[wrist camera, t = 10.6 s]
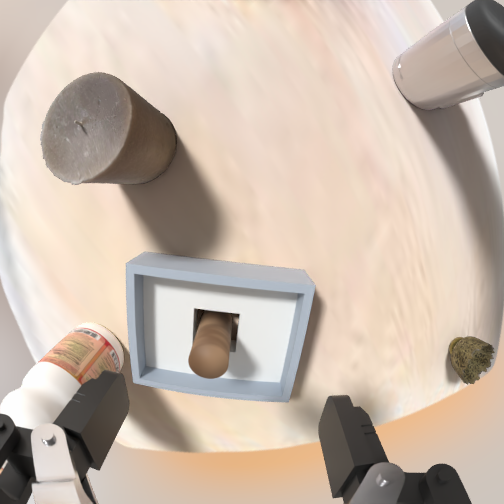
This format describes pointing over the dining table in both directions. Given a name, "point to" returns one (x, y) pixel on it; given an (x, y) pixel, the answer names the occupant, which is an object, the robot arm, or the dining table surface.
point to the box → (224, 300)
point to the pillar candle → (105, 134)
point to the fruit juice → (62, 375)
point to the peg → (211, 345)
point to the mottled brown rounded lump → (470, 357)
